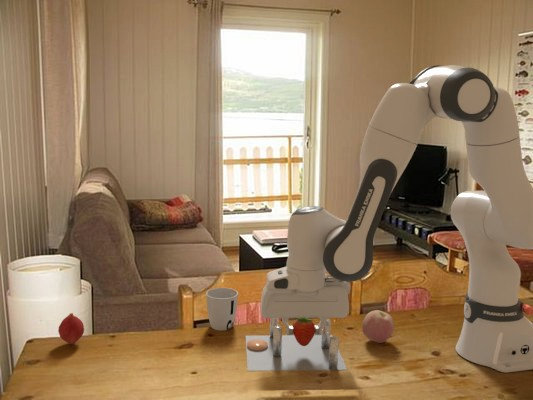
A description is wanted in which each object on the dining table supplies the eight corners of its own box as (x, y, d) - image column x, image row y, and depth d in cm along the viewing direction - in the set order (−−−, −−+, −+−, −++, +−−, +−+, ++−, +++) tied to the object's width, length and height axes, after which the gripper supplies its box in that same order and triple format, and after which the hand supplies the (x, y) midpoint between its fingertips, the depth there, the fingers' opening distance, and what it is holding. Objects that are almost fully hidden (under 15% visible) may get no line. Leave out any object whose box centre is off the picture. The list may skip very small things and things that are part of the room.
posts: (324, 335, 140) (325, 308, 139) (338, 369, 123) (339, 340, 121) (269, 335, 139) (270, 309, 138) (275, 370, 122) (275, 340, 120)
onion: (53, 346, 133) (52, 315, 131) (70, 337, 138) (69, 306, 136) (73, 351, 131) (71, 319, 129) (89, 341, 136) (88, 310, 134)
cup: (232, 337, 140) (233, 300, 138) (202, 334, 141) (202, 296, 140) (240, 324, 148) (241, 289, 146) (211, 321, 149) (211, 286, 147)
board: (332, 338, 140) (332, 335, 140) (346, 373, 123) (347, 369, 123) (245, 339, 139) (245, 335, 139) (247, 375, 121) (247, 370, 121)
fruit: (318, 346, 129) (320, 313, 128) (305, 353, 125) (306, 319, 124) (300, 339, 133) (301, 307, 131) (286, 346, 129) (287, 313, 127)
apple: (379, 351, 134) (381, 320, 132) (355, 341, 139) (356, 311, 138) (399, 342, 139) (401, 312, 138) (374, 332, 145) (376, 303, 143)
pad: (267, 341, 136) (267, 339, 136) (268, 350, 131) (268, 348, 131) (246, 341, 135) (246, 339, 135) (247, 351, 131) (247, 348, 130)
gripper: (347, 272, 130) (345, 328, 132) (260, 272, 128) (259, 329, 131) (353, 281, 124) (350, 339, 126) (262, 282, 122) (261, 340, 125)
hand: (303, 334), depth 128 cm, fingers closed on fruit, 5 cm apart
